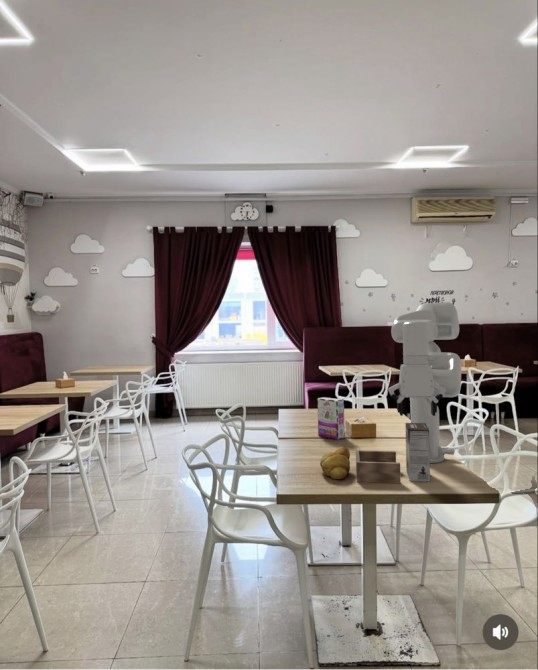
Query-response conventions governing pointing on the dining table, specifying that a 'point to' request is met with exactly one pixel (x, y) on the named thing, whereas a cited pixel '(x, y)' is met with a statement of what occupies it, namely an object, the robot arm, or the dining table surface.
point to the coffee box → (417, 452)
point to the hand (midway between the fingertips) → (417, 414)
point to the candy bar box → (331, 418)
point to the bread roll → (336, 463)
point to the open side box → (377, 466)
